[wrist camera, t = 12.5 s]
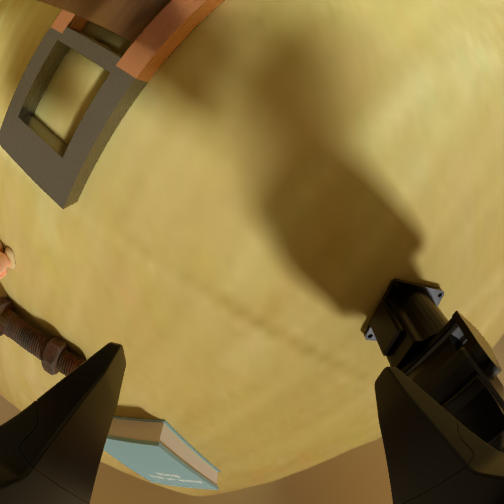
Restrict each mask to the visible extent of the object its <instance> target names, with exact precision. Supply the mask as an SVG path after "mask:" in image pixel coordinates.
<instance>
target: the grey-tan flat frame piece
mask: <svg viewBox="0 0 504 504" xmlns="http://www.w3.org/2000/svg"><path fill="white" fill-rule="evenodd" d="M223 1H224V0H172V1H171V2H170V3H169V4H168V5H167V6H166V7H165V8H164V9H163V10H162V11H161V12H160V13H159V14H158V15H157V16H156V17H155V18H154V19H153V20H152V21H151V22H150V24H149V25H148V26H147V27H146V28H145V29H144V30H143V32H142V33H141V34H140V35H139V36H138V37H137V39H136V40H135V41H134V42H133V44H132V45H131V46H130V47H129V49H128V50H127V51H126V52H125V54H124V55H123V56H121V55H120V54H118V53H117V52H115V51H113V50H112V49H110V48H108V47H106V46H105V45H103V44H101V43H100V42H98V41H96V40H94V39H92V38H91V37H89V36H87V35H85V34H83V33H82V32H81V30H82V29H83V27H84V26H85V25H86V23H87V22H88V21H89V20H86V19H84V18H82V17H80V16H77V15H75V14H73V13H70V12H68V11H65V10H62V11H61V13H60V14H59V16H58V17H57V18H56V20H55V21H54V23H53V24H52V26H51V27H50V29H49V30H48V32H47V33H46V35H45V36H44V38H43V40H42V41H41V43H40V45H39V46H38V48H37V50H36V51H35V53H34V55H33V57H32V58H31V60H30V62H29V64H28V66H27V68H26V70H25V72H24V74H23V76H22V78H21V80H20V82H19V84H18V86H17V89H16V91H15V93H14V95H13V98H12V100H11V103H10V105H9V107H8V110H7V113H6V115H5V118H4V121H3V124H2V126H1V129H0V145H1V147H2V148H3V149H4V150H5V151H6V152H7V153H8V154H9V155H10V157H11V158H12V159H13V160H14V161H15V162H16V163H17V164H18V165H19V166H20V167H21V168H22V169H23V170H24V171H25V172H26V173H27V175H28V176H29V177H30V178H31V179H32V180H33V181H34V182H35V183H36V184H37V185H38V186H39V187H40V188H41V189H42V190H43V191H45V192H46V193H47V194H48V195H49V196H50V197H51V198H52V199H53V200H54V201H55V202H56V203H57V204H58V205H59V206H60V207H61V208H62V209H64V208H66V207H68V206H70V205H72V204H74V203H76V202H77V201H78V199H79V197H80V194H81V192H82V190H83V188H84V186H85V184H86V182H87V180H88V178H89V176H90V174H91V172H92V170H93V168H94V166H95V164H96V162H97V161H98V159H99V157H100V155H101V153H102V151H103V150H104V148H105V146H106V144H107V143H108V141H109V139H110V138H111V136H112V134H113V133H114V131H115V129H116V128H117V126H118V125H119V123H120V122H121V120H122V118H123V117H124V115H125V114H126V112H127V111H128V109H129V108H130V106H131V105H132V104H133V102H134V101H135V99H136V98H137V96H138V95H139V94H140V92H141V91H142V89H143V88H144V87H145V85H146V84H147V83H148V81H149V80H150V79H151V78H152V76H153V75H154V74H155V72H156V71H157V70H158V69H159V67H160V66H161V65H162V64H163V63H164V61H165V60H166V59H167V58H168V57H169V56H170V54H171V53H172V52H173V51H174V50H175V49H176V47H177V46H178V45H179V44H180V43H181V42H182V41H183V40H184V39H185V38H186V37H187V36H188V34H189V33H190V32H191V31H192V30H193V29H194V28H195V27H196V26H197V25H198V24H199V23H200V22H201V21H202V20H203V19H204V18H205V17H206V16H207V15H208V14H210V13H211V12H212V11H213V10H214V9H215V8H216V7H217V6H218V5H219V4H220V3H222V2H223ZM69 48H72V49H74V50H75V51H77V52H79V53H80V54H82V55H83V56H85V57H87V58H88V59H90V60H91V61H93V62H94V63H96V64H98V65H99V66H101V67H102V68H104V69H105V70H107V71H108V72H110V74H109V76H108V77H107V79H106V80H105V82H104V83H103V85H102V86H101V88H100V90H99V91H98V93H97V94H96V96H95V98H94V99H93V101H92V103H91V104H90V106H89V108H88V109H87V111H86V113H85V115H84V116H83V118H82V120H81V122H80V124H79V126H78V127H77V129H76V131H75V133H74V135H73V137H72V139H71V141H70V143H69V145H68V146H67V145H66V144H65V143H64V142H63V141H62V140H61V139H59V138H58V137H57V136H56V135H55V134H54V133H53V132H51V131H50V130H49V129H48V128H47V127H46V126H45V125H44V124H42V123H41V122H40V121H39V120H38V119H37V118H36V117H35V116H34V115H33V114H34V112H35V110H36V107H37V105H38V103H39V101H40V99H41V97H42V95H43V93H44V91H45V89H46V87H47V85H48V83H49V81H50V79H51V78H52V76H53V74H54V72H55V70H56V69H57V67H58V65H59V64H60V62H61V60H62V59H63V57H64V55H65V54H66V52H67V51H68V49H69Z"/></svg>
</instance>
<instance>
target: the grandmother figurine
mask: <svg viewBox="0 0 504 504" xmlns="http://www.w3.org/2000/svg"><path fill="white" fill-rule="evenodd" d="M15 267H16V263H15V257H14V253H13V251H12V250H11V249H10V248H9V247H7V248H6V249H5V254H4V253H3V245H2V243H1V242H0V279H1V278H2V277H4V276H5V275H6V274H7V270H6V269H7V268H8V269H11V270H12V269H15Z"/></svg>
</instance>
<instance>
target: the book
mask: <svg viewBox="0 0 504 504" xmlns="http://www.w3.org/2000/svg"><path fill="white" fill-rule="evenodd" d="M103 450H105V451H106V452H107V453H109V454H110V455H111V456H113V457H114V458H115V459H117V460H118V461H120V462H121V463H123V464H124V465H125V466H127V467H128V468H130V469H131V470H133V471H135V472H136V473H138V474H139V475H141V476H142V477H144V478H146V479H147V480H149V481H151V482H152V483H159V484H164V485H171V486H178V487H187V488H198V489H212V490H218V488H219V487H218V486H217V477H218V472H220V471H219V470H218V469H217V468H216V467H215V466H213V465H212V464H211V463H210V462H209V461H208V460H206V459H205V458H204V457H203V456H202V455H201V454H200V453H198V452H197V451H196V450H195V449H194V448H193V447H192V446H191V445H190V444H189V443H188V442H187V441H186V440H185V439H184V438H183V437H181V436H180V435H179V434H178V433H177V432H176V431H175V430H174V429H173V428H172V427H171V425H170V424H169V423H168V422H167V421H166V420H153V419H139V418H128V417H118V416H114V417H113V420H112V423H111V426H110V430H109V433H108V436H107V439H106V443H105V446H104V449H103Z"/></svg>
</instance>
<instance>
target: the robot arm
mask: <svg viewBox="0 0 504 504" xmlns="http://www.w3.org/2000/svg"><path fill="white" fill-rule="evenodd" d="M396 284H397V286H395V285H396ZM394 286H395V287H394ZM439 293H440V294H439ZM438 294H439V295H438ZM443 295H444V292H443V290H442V289H440V288H436V287H431V286H427V285H422V284H418V283H413V282H409V281H404V280H399V279H394V280H393V281H392V282H391V283H390V285H389V287H388V289H387V291H386V293H385V295H384V297H383V299H382V301H381V302H380V304H379V306H378V308H377V310H376V312H375V314H374V316H373V318H372V319H371V321H370V324H369V326H368V327H367V329H366V331H365V333H364V336H365V339H366V340H373V341H377V342H378V344H379V347H380V349H381V351H382V354H383V355H384V356H387V359H388V361H389V363H390V366H391V367H386V368H384V369H383V371H382V372H381V374H380V375H379V377H378V378H377V379H376V381H375V393H376V401H377V410H378V418H379V424H380V429H381V434H382V439H383V444H384V449H385V454H386V460H387V466H388V472H389V478H390V485H391V492H392V499H393V504H504V387H503V385H502V383H501V382H500V380H499V379H498V377H497V375H498V374H499V373H500V372H501V367H500V365H499V363H498V361H497V359H496V357H495V355H494V353H493V351H492V349H491V347H490V345H489V344H488V343H487V341H486V340H485V339H484V337H483V336H482V335H481V334H480V332H479V331H478V330H477V329H476V328H475V327H474V326H473V325H472V324H471V323H470V322H469V321H468V320H467V319H466V318H464V317H463V316H462V315H461V314H460V313H459V312H458V311H456V312H455V313H454V314H453V315H452V318H451V319H450V320H449V321H448V320H447V318H446V317H445V316H444V314H443V313H442V312H441V310H440V309H439V308H438V307H437V306H438V304H439V303H440V301H441V299H442V297H443ZM369 334H370V335H369ZM125 367H126V360H125V355H124V350H123V346H122V345H121V344H117V343H113V342H110V343H108V344H107V345H105V346H104V347H103V348H102V349H100V350H99V351H98V352H96V353H95V354H94V355H93V356H91V357H90V358H89V359H87V360H86V361H85V362H84V363H82V364H81V365H80V366H79V367H77V368H76V369H75V370H73V371H72V372H71V373H70V374H68V375H67V376H66V377H65V378H63V379H62V380H61V381H60V382H58V383H57V384H56V385H55V386H53V387H52V388H51V389H50V390H48V391H47V392H46V393H45V394H43V395H42V396H41V397H40V398H38V399H37V401H34V402H33V403H32V404H31V405H30V406H28V407H27V408H26V409H24V410H23V411H22V412H21V413H19V414H18V415H16V416H15V417H13V418H12V419H10V420H9V421H7V422H6V423H4V424H2V425H1V426H0V504H90V499H91V495H92V491H93V487H94V483H95V478H96V475H97V470H98V467H99V464H100V460H101V456H102V453H103V449H104V446H105V443H106V439H107V436H108V433H109V430H110V426H111V423H112V420H113V417H114V414H115V411H116V407H117V404H118V399H119V394H120V389H121V385H122V380H123V376H124V372H125Z"/></svg>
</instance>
